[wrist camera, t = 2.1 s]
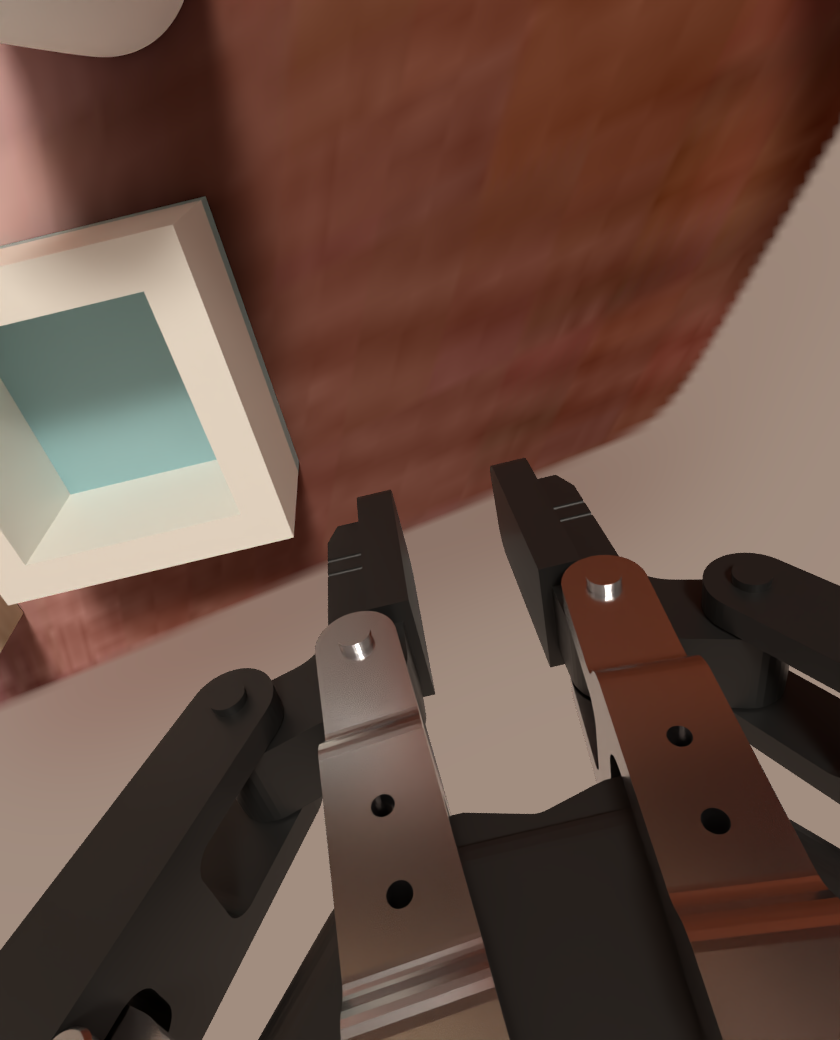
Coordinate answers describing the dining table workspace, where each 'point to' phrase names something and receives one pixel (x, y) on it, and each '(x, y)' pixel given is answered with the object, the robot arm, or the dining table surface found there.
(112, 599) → the dining table surface
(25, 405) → the socket block
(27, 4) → the can
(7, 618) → the stop board
